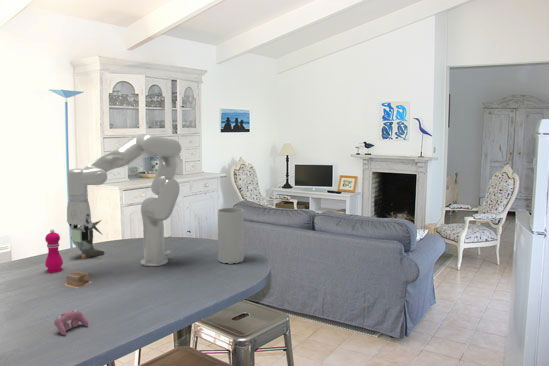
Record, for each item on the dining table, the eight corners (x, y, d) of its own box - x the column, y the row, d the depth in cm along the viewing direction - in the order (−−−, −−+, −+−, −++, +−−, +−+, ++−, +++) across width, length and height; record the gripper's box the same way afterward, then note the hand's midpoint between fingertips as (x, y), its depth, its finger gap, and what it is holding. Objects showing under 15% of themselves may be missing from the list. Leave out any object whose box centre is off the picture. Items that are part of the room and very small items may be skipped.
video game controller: (83, 327, 172) (76, 308, 173) (90, 325, 169) (83, 305, 170) (56, 338, 164) (50, 317, 165) (63, 335, 161) (57, 314, 162)
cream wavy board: (84, 273, 224) (84, 271, 224) (108, 279, 217) (108, 276, 217) (51, 285, 209) (51, 282, 209) (77, 291, 202) (76, 288, 202)
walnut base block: (78, 280, 212) (78, 271, 211) (88, 282, 209) (88, 273, 209) (67, 284, 207) (66, 275, 206) (77, 286, 204) (76, 277, 203)
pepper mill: (56, 275, 221) (54, 231, 218) (42, 274, 222) (39, 230, 219) (66, 270, 228) (64, 227, 225) (52, 269, 229) (50, 227, 226)
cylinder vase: (248, 261, 243) (248, 211, 240) (225, 265, 236) (225, 213, 233) (235, 255, 253) (235, 206, 250) (213, 259, 247) (213, 209, 243)
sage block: (81, 238, 219) (80, 226, 218) (89, 239, 217) (88, 228, 216) (71, 240, 215) (71, 229, 214) (80, 242, 213) (79, 230, 212)
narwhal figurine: (67, 256, 249) (65, 221, 247) (97, 251, 260) (95, 217, 257) (78, 263, 239) (76, 226, 236) (109, 257, 249) (107, 221, 247)
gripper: (57, 197, 214) (59, 239, 217) (85, 201, 206) (87, 244, 209) (71, 194, 220) (74, 235, 223) (99, 198, 213) (101, 240, 215)
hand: (80, 239), depth 216 cm, fingers closed on sage block, 5 cm apart
